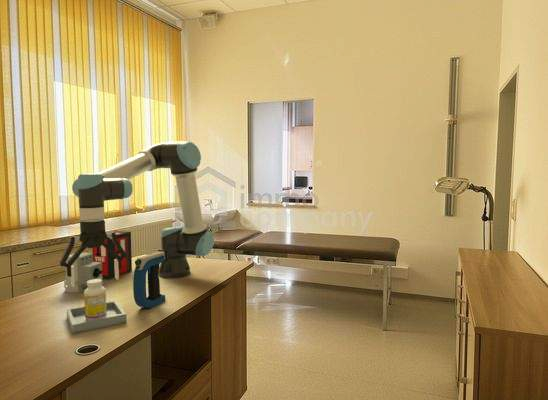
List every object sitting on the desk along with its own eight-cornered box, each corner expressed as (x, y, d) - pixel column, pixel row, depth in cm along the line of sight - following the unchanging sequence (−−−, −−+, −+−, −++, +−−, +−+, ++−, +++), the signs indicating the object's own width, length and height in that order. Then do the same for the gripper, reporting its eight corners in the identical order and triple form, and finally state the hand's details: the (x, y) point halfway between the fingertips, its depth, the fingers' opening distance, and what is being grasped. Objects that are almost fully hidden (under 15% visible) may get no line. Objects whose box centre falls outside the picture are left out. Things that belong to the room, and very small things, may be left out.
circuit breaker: (94, 293, 155) (93, 258, 154) (64, 291, 158) (63, 256, 157) (106, 288, 162) (104, 254, 161) (77, 286, 165) (75, 252, 164)
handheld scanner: (170, 298, 149) (168, 249, 148) (143, 313, 134) (141, 258, 132) (160, 297, 150) (158, 249, 149) (133, 311, 135) (130, 258, 134)
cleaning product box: (109, 279, 175) (108, 237, 173) (93, 278, 177) (92, 236, 175) (131, 270, 190) (130, 231, 189) (117, 269, 193) (115, 231, 191)
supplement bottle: (89, 314, 131) (88, 278, 130) (109, 313, 131) (108, 277, 130) (81, 322, 124) (80, 284, 123) (102, 321, 125) (101, 283, 124)
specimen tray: (116, 308, 139) (115, 300, 139) (126, 322, 126) (126, 313, 125) (66, 317, 130) (66, 309, 130) (72, 334, 117) (72, 325, 116)
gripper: (128, 215, 135) (131, 273, 137) (48, 221, 121) (52, 286, 123) (134, 218, 129) (136, 278, 131) (49, 224, 115) (54, 292, 117)
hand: (95, 282), depth 127 cm, fingers open, 13 cm apart
